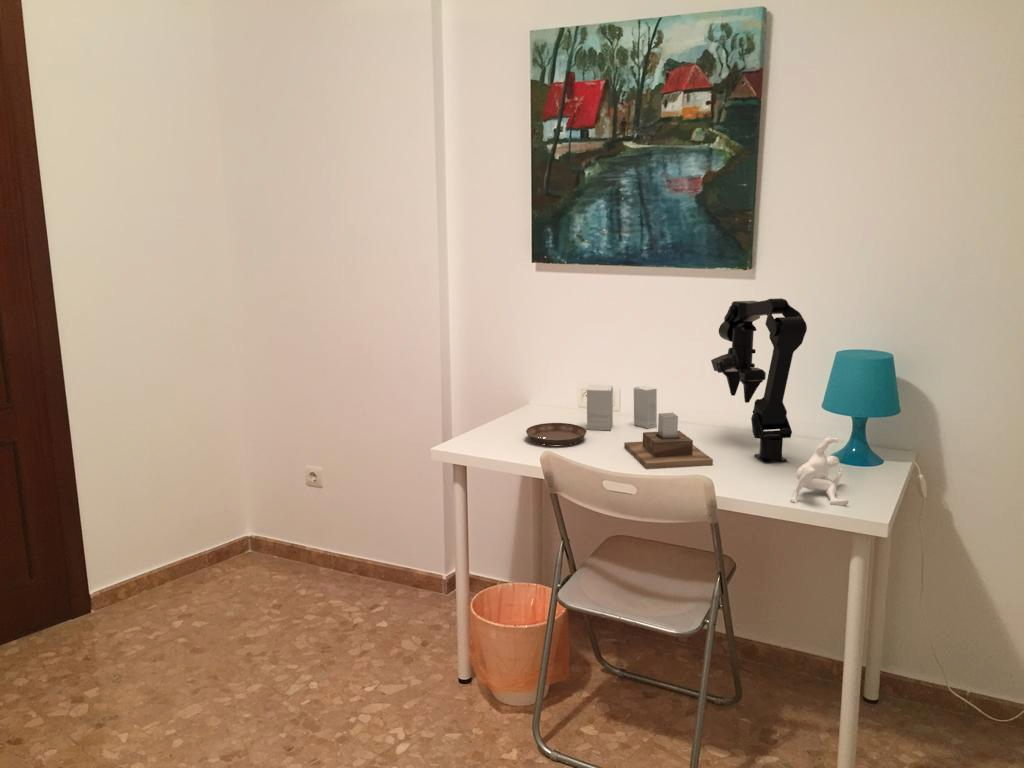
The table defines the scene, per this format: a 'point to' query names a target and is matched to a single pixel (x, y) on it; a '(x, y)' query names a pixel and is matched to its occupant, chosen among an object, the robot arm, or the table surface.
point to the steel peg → (667, 426)
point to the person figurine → (819, 473)
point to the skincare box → (645, 406)
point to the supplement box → (599, 407)
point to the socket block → (667, 451)
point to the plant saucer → (556, 433)
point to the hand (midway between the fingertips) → (739, 398)
